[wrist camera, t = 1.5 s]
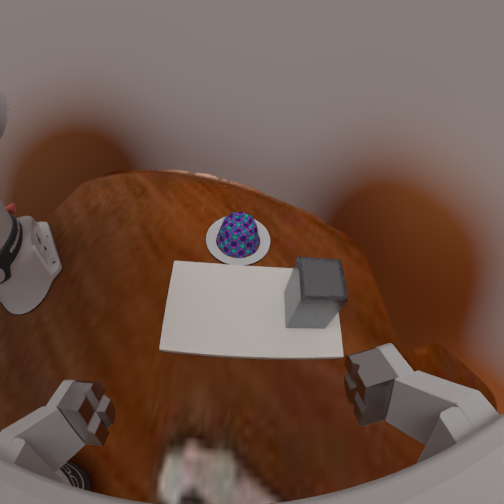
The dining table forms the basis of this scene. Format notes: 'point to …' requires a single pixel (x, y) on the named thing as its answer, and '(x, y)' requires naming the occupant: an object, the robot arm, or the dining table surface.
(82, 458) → the dining table surface
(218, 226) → the pudding
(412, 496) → the robot arm
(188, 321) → the placemat
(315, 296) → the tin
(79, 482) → the coffee cup
